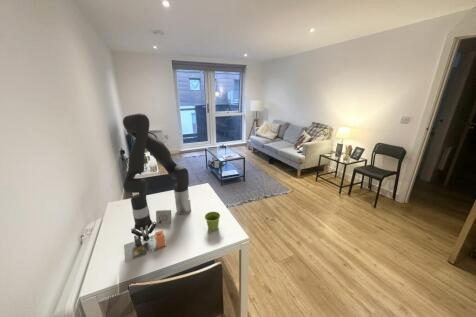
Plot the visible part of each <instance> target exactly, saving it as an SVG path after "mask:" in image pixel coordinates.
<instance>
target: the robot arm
mask: <svg viewBox="0 0 476 317" xmlns="http://www.w3.org/2000/svg"><path fill="white" fill-rule="evenodd" d="M122 124H123V127H124V129H125V130H126V132H128V133H129V134H130V135H131V136H132V137H133V138H135V140H134V143H133V145H132V147H131V149H130V152H129V154H128V155H129V156H128V164H127V165H128V167H127V173H126V176H125V179H124V182H123V190H124V191H125V193H127V194H128V193H129V194H135V193H137V194H135V195H133V196H132V197H131V198H130V203H131V208H132V216H133V220H134V226H133V227H132V228H131V229H130V231H131V234H133V235H134V236H136V235H137V236H139V237H142V239H143V240H144V241H145V242H146V241H148V240H149V235H150V234H152V233H153V231H154V230H155V229H156V228H157V224H158V223H156V221H152V219H151V215H150V209H149V208H150V207H149V206H148V201H147V191H148V187H149V186H148V185H149V183H148V181H147V179H145V178H143V177H141V178H140V177H139V178H137V177H136V176H137V175H140V174H142V173H144V171H145V151H146V150H147V152H148V153H149V154H150V155H151V156H152V157H153V158H154V159H155V161H156V162H158V163H159V164H160V165H161V167H163V169H165V171H166V172H167V174H168V176H170V178H171V179H173V180H175V181H176V183H175V184H174V186H173V193H174V201H175V207H176V208H175V210H176V213H177V214H179V215H185V214H188V213H190V212H191V211H192V206H191V199H190V194H189V185H190V184H189V182H190V179H189V177H190V176H189V170H188V168H186V167H183V166H180V165H178V163H176V162H175V161H174V160H173V159H172V154H171V152H170V151H171V150H170V149H169V148H168V147H167V146H166V144H164V142H163V141H161V140H160V139H158V138H156V137H154V136H152V135H151V134H149V133H150V132H149V130H150V119H149V117H148V116H147V115H146V114H145V113H140V112H139V113H133V114H130V115H126V116H124V117H123V119H122ZM135 177H136V178H135ZM146 239H147V240H146Z"/></svg>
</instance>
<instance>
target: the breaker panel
mask: <svg viewBox="0 0 476 317" xmlns="http://www.w3.org/2000/svg"><path fill="white" fill-rule="evenodd" d="M146 240H147V239H146ZM141 241H142V245H140V246H137V247H136V245H135V241H131V242H129V243H126V244H124V245H123V247H124V248H123V250H124V262H125V263H127V262H130V261H131V260H135V259H138V258H141V257H143V256H146V255H148V254H151V253H155V252H157V251H159V250H162V249H164V248H167V247H168V245H167V242H166V240H165V244H166V245H165V246H162V247H159V248H158V247H157V242H156V237H155V234H152V235H150V236H149V240H148V241H146V242H145V241H144V240H143V238H141Z"/></svg>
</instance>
